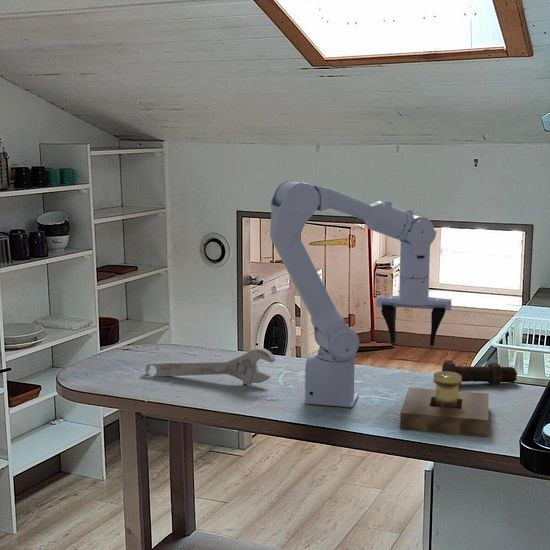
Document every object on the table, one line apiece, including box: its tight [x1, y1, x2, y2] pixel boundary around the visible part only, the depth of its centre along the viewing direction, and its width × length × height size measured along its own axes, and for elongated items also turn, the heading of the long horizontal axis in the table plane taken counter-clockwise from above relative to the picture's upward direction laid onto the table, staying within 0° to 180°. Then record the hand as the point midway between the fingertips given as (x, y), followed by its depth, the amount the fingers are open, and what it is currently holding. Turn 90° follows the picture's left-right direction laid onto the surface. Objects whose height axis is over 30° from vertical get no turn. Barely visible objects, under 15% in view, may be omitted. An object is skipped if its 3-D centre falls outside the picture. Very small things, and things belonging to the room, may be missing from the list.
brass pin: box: [433, 370, 462, 409], centre depth 145 cm, size 5×5×8 cm
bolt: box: [441, 359, 518, 386], centre depth 166 cm, size 6×5×15 cm
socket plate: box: [399, 386, 490, 437], centre depth 145 cm, size 15×15×3 cm
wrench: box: [145, 347, 276, 386], centre depth 168 cm, size 8×2×30 cm
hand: (412, 343), depth 158 cm, fingers open, 7 cm apart
